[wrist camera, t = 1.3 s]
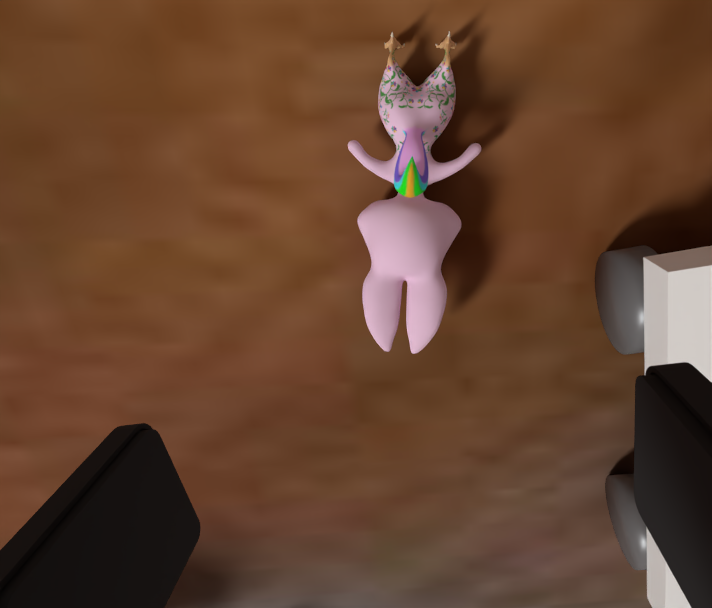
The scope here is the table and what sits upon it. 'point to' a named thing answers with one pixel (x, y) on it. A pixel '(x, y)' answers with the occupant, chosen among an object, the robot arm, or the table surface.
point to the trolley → (661, 346)
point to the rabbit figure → (410, 204)
